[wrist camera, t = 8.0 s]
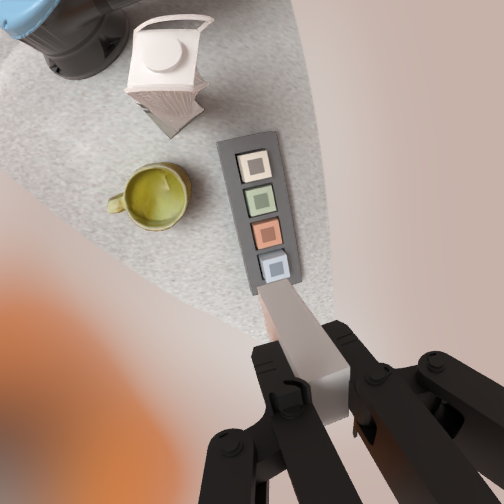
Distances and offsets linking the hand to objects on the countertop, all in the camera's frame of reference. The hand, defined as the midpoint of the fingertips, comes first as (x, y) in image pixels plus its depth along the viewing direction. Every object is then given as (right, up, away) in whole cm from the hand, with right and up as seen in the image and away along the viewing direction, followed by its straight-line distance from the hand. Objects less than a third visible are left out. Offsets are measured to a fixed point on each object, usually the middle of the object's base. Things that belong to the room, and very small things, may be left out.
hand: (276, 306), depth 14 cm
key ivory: (-1, +16, +30) cm, 34 cm away
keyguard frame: (0, +9, +34) cm, 35 cm away
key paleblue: (+2, +1, +36) cm, 36 cm away
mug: (-17, +12, +30) cm, 36 cm away
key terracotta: (+1, +6, +35) cm, 35 cm away
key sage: (0, +11, +33) cm, 35 cm away
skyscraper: (-13, +25, +26) cm, 38 cm away
